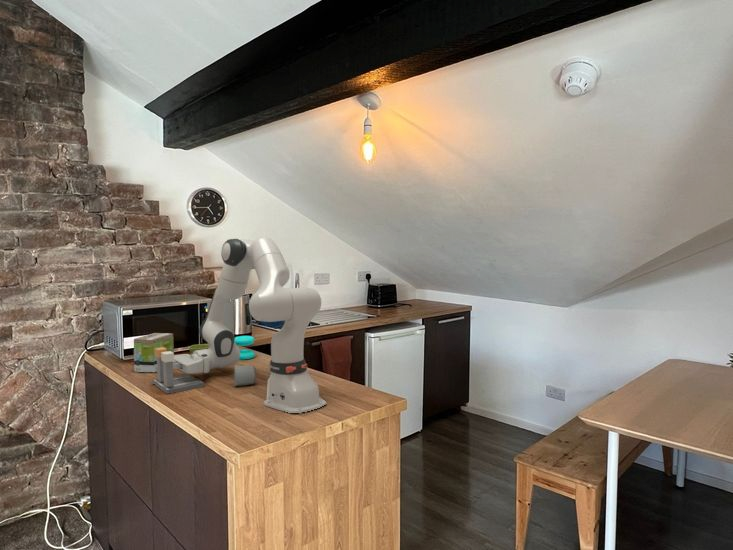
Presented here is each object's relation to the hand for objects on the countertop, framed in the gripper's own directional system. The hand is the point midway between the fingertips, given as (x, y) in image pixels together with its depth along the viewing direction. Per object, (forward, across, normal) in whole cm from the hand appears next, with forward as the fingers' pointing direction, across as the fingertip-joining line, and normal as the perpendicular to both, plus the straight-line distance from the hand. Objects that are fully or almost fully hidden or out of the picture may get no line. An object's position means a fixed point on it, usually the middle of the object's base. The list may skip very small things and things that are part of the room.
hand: (165, 366), depth 186 cm
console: (-3, +4, +7) cm, 9 cm away
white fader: (+2, +9, +5) cm, 10 cm away
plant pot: (-21, -20, +7) cm, 30 cm away
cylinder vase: (-40, -40, +7) cm, 57 cm away
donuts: (-42, -19, +7) cm, 47 cm away
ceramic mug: (-23, +20, +7) cm, 31 cm away
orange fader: (+1, 0, +5) cm, 5 cm away
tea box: (-4, -28, +7) cm, 29 cm away
